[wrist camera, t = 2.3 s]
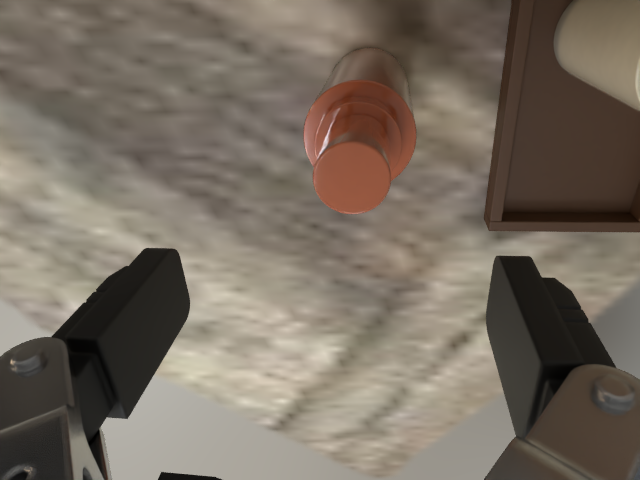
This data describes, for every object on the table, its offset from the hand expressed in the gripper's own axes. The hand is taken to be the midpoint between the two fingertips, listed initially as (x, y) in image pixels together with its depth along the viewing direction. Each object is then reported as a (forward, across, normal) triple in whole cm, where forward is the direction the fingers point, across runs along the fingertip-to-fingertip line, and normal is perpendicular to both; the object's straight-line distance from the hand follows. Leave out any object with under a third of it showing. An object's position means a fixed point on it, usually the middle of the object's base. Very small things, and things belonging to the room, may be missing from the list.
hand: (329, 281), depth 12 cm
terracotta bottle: (+23, 0, 0) cm, 23 cm away
